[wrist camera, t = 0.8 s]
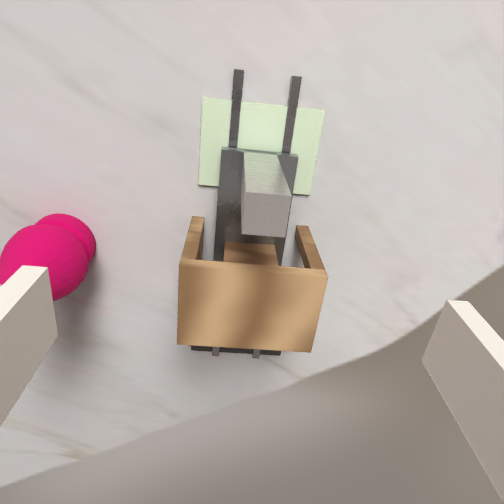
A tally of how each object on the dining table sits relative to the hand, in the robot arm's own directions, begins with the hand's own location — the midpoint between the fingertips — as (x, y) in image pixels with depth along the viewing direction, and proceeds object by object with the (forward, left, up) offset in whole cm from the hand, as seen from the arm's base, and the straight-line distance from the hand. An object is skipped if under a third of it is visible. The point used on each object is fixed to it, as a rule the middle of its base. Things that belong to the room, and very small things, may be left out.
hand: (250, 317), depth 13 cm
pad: (+2, 0, -26) cm, 26 cm away
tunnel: (+2, -12, -26) cm, 29 cm away
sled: (+2, -9, -26) cm, 27 cm away
